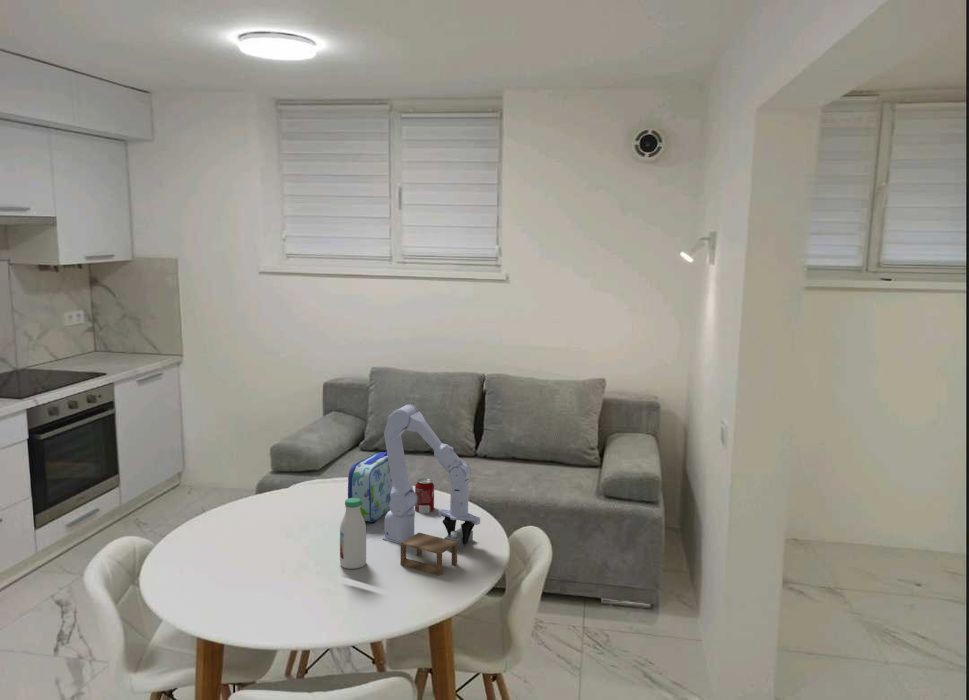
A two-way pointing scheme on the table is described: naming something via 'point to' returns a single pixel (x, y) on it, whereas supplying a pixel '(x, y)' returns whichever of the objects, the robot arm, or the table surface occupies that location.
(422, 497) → the soda can
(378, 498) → the lunch box
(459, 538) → the grey rectangular block
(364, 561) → the milk bottle
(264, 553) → the table surface
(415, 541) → the wooden footstool
